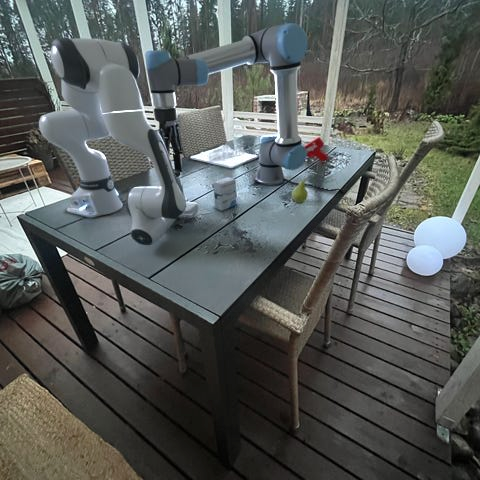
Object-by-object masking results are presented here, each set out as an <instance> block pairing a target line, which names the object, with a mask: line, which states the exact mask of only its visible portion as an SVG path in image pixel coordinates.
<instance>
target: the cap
mask: <svg viewBox="0 0 480 480" xmlns="http://www.w3.org/2000/svg"><path fill="white" fill-rule="evenodd" d="M173 169H174V172H175V175H176V177H179V178H180V176H181V175H182V174H181V172H180V170H179V169H175V168H173Z"/></svg>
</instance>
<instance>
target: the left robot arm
mask: <svg viewBox="0 0 480 480" xmlns="http://www.w3.org/2000/svg"><path fill="white" fill-rule="evenodd" d="M50 59H51V63H52V66H53V68H54V70H55V72H56V75H57V76H58V77H59V79H61V80H60V81H61V82H60V83H61V96H62V98H63V101H64V102H65V103H66V104H67V105H68V106H69V107H70V108H71V109H65V110H64V109H63V110H55V111H52V112H48V113H46V114H42V115H41V116H40V118H39V119H38V120H39V121H38V128H39V131H40V134H41V135H42V137H43V138H44V139H45V140H46V141H47V142H48V143H50V144H52V145H54V146H56V147H59V148H60V149H62V150H63V151H65V152H66V153H67V154H68V156H69V157H70V158H71V160H72V161H73V163H74V166H75V168H76V170H77V172H78V175H79V178H78V179H76V180H75V183H76V184H79V185H78V188H77V189H76V190H75V191H74V192H73V193H72V194H71V195H70V199H69V201H70V205H69V206H68V207H67V208H66V212H67V213H70V214H73V215H78V216H82V217H86V218H90V219H94V218H97V217H100V216H104V215H109V214H112V213H116V212H118V211H119V210H121V209H122V208H123V206H124V203H123V202H122V200H121V199H120V197H119V192H118V191H117V189H116V188H115V181H114V178H113V174H111V172H110V168H109V164H108V161H107V158H106V156H105V155H104V153H102V152H101V151H99V150H95V149H93V148H89V147H88V145H87V142H89V141H95V140H100V139H104V138H107V137H111V138H112V139H113V140H114V141H115V142H117V143H119V144H120V145H122V146H124V147H127V148H130V149H133V150H136V151H138V152H140V153H142V154H143V155H145V157H147V158H148V159H149V160H150V162H151V164H152V167H153V169H154V171H155V175H156V177H157V180H158V182H159V186H134V187H132V188H131V189H130V190H129V191H128V192H127V195H126V198H125V208H126V212H127V213H128V215H129V217H130V218H131V228H130V237H131V238H132V240H134V242H135V243H137V244H139V245H142V246H151V245H153V244H156V243H157V242H158V241H159V240H160V239H161V238H162V237H163V236H164V235H165V233H166V232H167V230H169V229H170V228H171V227H172V226H173V224H174V223H175V222H176V220H177V219H184V220H189V219H191V218H194V216H195V215H196V214H197V213H198V212H199V205H198V203H197V202H195V201H194V202H193V201H189V198H186V195H185V193H184V190H183V191H182V190H181V188H180V186H179V183H178V181H177V178H176V175H175V172H174V169H175V168H174V166H173V164H171V163H172V160H171V157H170V158H169V155H168V152H167V149H166V147H165V144H164V142H163V140H162V137H161V136H160V134H159V133H158V132H157V131H155V130H156V129H154V128H153V127H152V125H151V123H150V122H149V120H148V118H147V115H146V111H145V107H144V103H143V99H142V96H141V92H140V89H139V87H138V84H137V81H138V78H139V75H140V62H139V59H138V56H137V54H136V52H135V50H134V48H133V47H131V46H130V45H129V44H126V43H124V42H121V41H112V40H107V39H103V38H102V39H101V38H85V37H84V38H83V37H80V38H79V37H77V38H76V37H75V38H70V37H68V36H67V37H66V36H65V37H60V38H56V39H53V40H52V42H51V44H50ZM170 160H171V161H170Z"/></svg>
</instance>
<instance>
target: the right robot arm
mask: <svg viewBox="0 0 480 480" xmlns="http://www.w3.org/2000/svg"><path fill="white" fill-rule="evenodd" d="M307 51H308V38H307V35H306V32H305V30H304V28H302V26H301V25H300V24H298V23H294V22H293V23H291V22H286V23H283V24H277V25H272V26H268V27H265V28H263V29H261V30H258V31H256V32H254V33H251V34H248V35H244V36H243V38H242V40H238V41H235V42H232V43H228V44H225V45H221V46H218V47H213V48H210V49H206V50H203V51H199V52H196V53H192V54H187V55H185V56H182V57H178V58H172V57H171V54H170V52H169V50H147V51H146V52H145V54H144V57H145V58H144V59H145V69H146V72H147V73H146V74H147V78H148V85H149V89H150V90H149V91H150V99H151V102H152V107H154V108H153V116H154V120H155V121H156V122H158V123H159V124H158V129H154V130H155V131H157V132H158V133H159V134H160V136H161V137H162V140H163V142H164V144H165V147H166V149H167V152H168V155H169V158H170V161H171V164H172V159H173V164H172V165H173V169H179V170H180V173H183V166H182V158H181V155H183V153H184V152H183V151H184V148H183V142H182V137H181V130H180V123H179V122H178V123H177V122H175V121H177V120H178V109H177V108H176V106H177V101H176V93H175V87H192V86H193V87H195V86H197V87H199V86H204V85H206V84H207V83H208V81H209V75H212V74H215V73H218V72H222V71H226V70H229V69H232V68H235V67H238V66H242V65H244V64H245V65H246V64H247V65H249V66H251V65H255V64H269V66H270V68H269V69H270V72H271V73H272V74H273V75H274V82H275V84H274V86H275V98H276V101H275V103H276V119H277V134H266V135H262V136H260V139H259V143H258V145H259V153H258V157H259V158H258V167H257V171H256V174H255V175H254V181H255V183H258V184H259V185H262V186H263V185H264V186H279V185H281V184H283V183H284V182H287V183H289V184H292V185H296V186H298V184H299V183H300V182H295V181H292V180H289V179H286V178H285V175H284V172H283V171H284V170H283V168H284V169H285V170H289V171H296V170H298V169H300V168H301V167H302V166H303V164H305V161H306V160H307V157H306V156H307V150H306V148H305V147H304V146H305V145H303V144H302V136H301V135H300V134H299V121H298V120H299V119H298V118H299V117H298V115H299V113H298V71H299V69H300V68H301V66H302V60H303V59H304V58H305V54H306V53H307ZM170 146H171V147H170ZM171 149H172V152H173V154H172V159H171V157H170V156H171V155H170V154H171ZM313 185H314V186H313ZM317 186H318V187H317ZM305 187H312V188H316V189H320V190H322V191H327V192H337V191H336V190H339V191H338V192H340V193H341V194H344V193H345V192H344V190H342V189H341V188H330V189H331V190H328V189H329V188H326V189H324V188H325V187H323V188H320V187H321V186H319V185H315V184H311V183H305Z"/></svg>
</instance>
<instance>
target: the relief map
mask: <svg viewBox="0 0 480 480" xmlns="http://www.w3.org/2000/svg"><path fill="white" fill-rule="evenodd" d="M258 157H259V155H256V154H252V153H247V152H246V151H245V150H244V148H238V149H233V148H231V147H230V146H229V145H228V144H222V145H219V147H215V148H213V149H210V150H206V151H201V152H200V153H198V154H194V155H191V156H190V159H191V160H196V161H199V162H203V163H207V164H212V165H215V166H221V167H224V168H229V169H235V168H237V167H239V166H241V165H244V164H246V163H250V162H251V161H253V160H256V159H258Z"/></svg>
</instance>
